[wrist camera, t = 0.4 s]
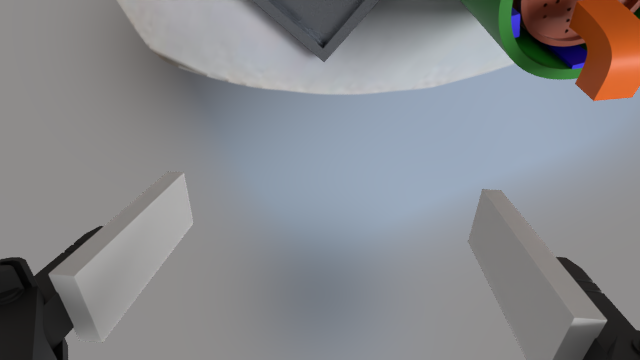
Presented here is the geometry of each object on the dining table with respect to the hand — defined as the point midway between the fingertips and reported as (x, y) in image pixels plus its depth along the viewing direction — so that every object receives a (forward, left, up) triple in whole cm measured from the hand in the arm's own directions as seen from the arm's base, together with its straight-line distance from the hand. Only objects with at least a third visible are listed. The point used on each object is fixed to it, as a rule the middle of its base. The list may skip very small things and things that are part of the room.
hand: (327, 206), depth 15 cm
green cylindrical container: (-13, +7, -27) cm, 31 cm away
